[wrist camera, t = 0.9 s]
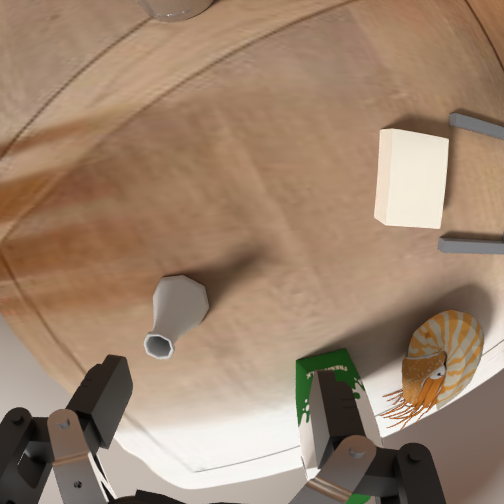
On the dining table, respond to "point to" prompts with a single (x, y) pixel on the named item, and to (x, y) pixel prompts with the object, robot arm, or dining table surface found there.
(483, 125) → the u-shaped bracket
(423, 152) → the carton
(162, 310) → the flask
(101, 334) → the dining table surface
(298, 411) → the milk carton
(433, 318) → the nautilus
